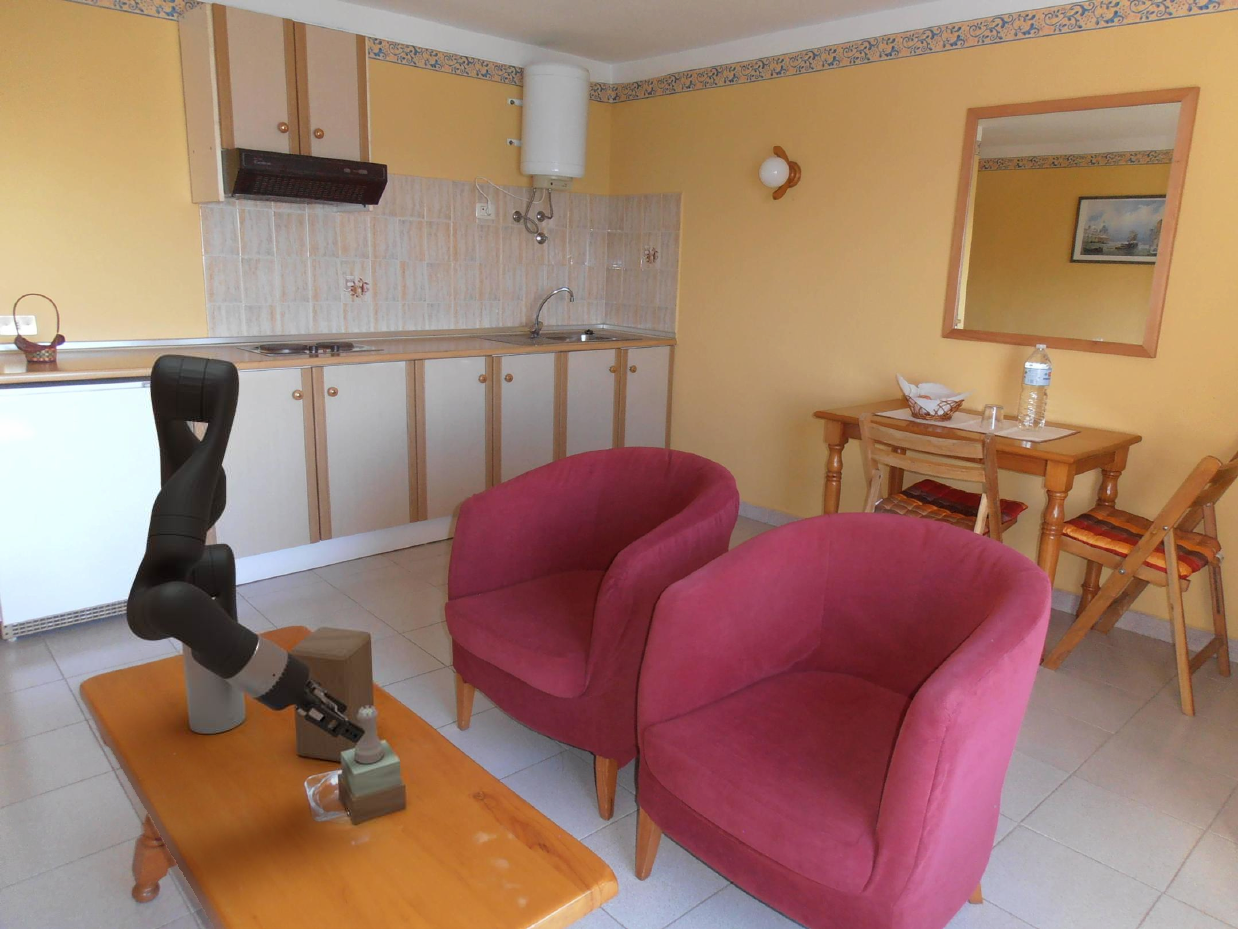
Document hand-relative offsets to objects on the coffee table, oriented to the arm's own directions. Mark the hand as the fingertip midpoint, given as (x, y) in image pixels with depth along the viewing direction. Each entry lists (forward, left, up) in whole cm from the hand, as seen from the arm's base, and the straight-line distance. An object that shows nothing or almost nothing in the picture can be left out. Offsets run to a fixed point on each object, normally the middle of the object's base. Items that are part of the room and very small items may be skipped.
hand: (351, 724), depth 130 cm
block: (-19, +3, -14) cm, 24 cm away
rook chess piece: (0, +2, -6) cm, 7 cm away
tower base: (0, +3, -14) cm, 14 cm away
